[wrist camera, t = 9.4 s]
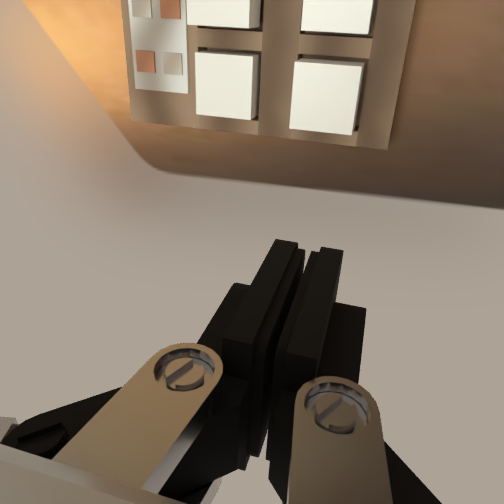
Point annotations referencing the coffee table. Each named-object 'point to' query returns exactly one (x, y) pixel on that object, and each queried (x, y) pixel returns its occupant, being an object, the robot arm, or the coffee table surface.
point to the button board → (262, 66)
